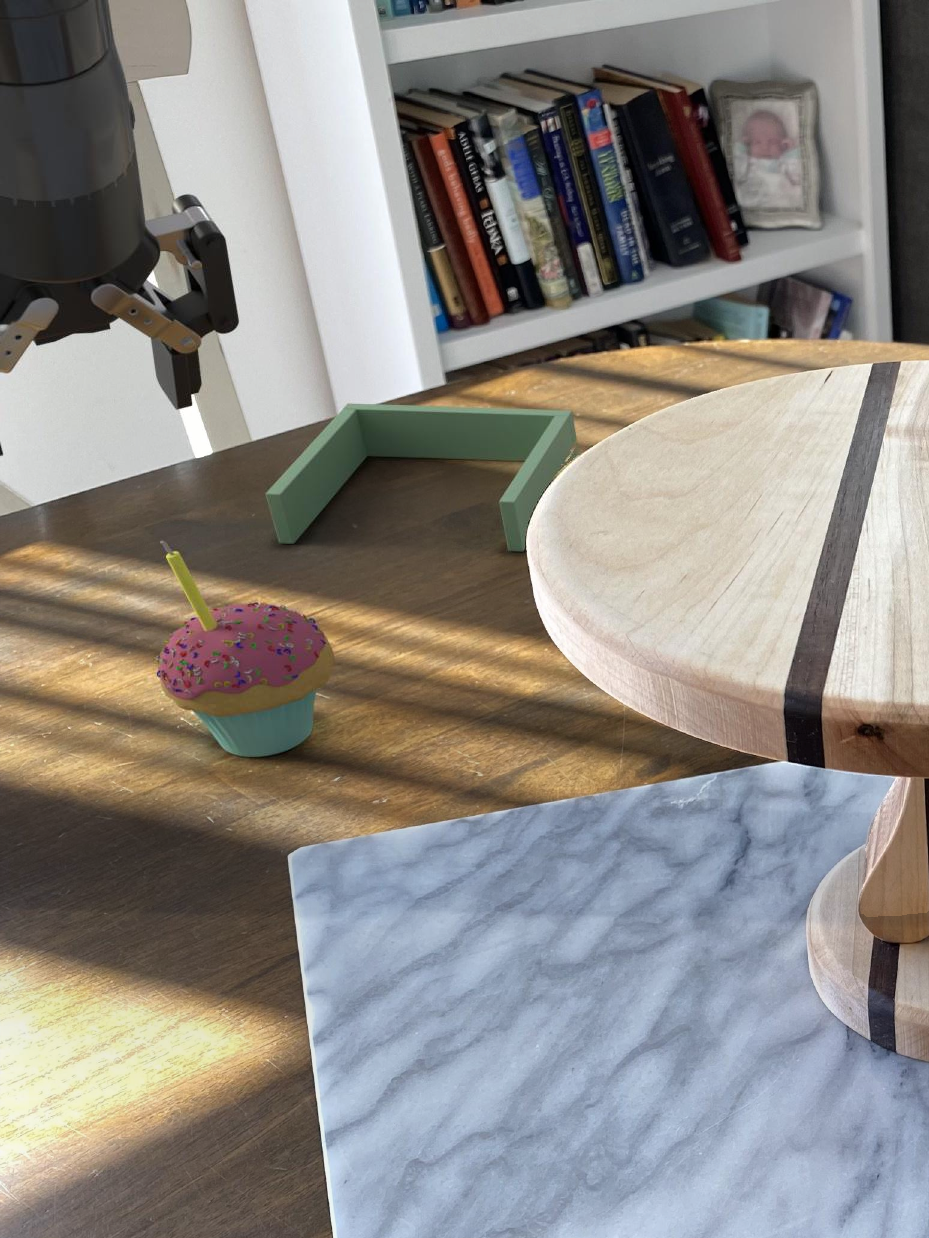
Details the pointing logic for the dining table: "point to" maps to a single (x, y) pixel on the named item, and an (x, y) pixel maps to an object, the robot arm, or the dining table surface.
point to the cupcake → (245, 670)
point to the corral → (426, 455)
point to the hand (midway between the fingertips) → (82, 419)
